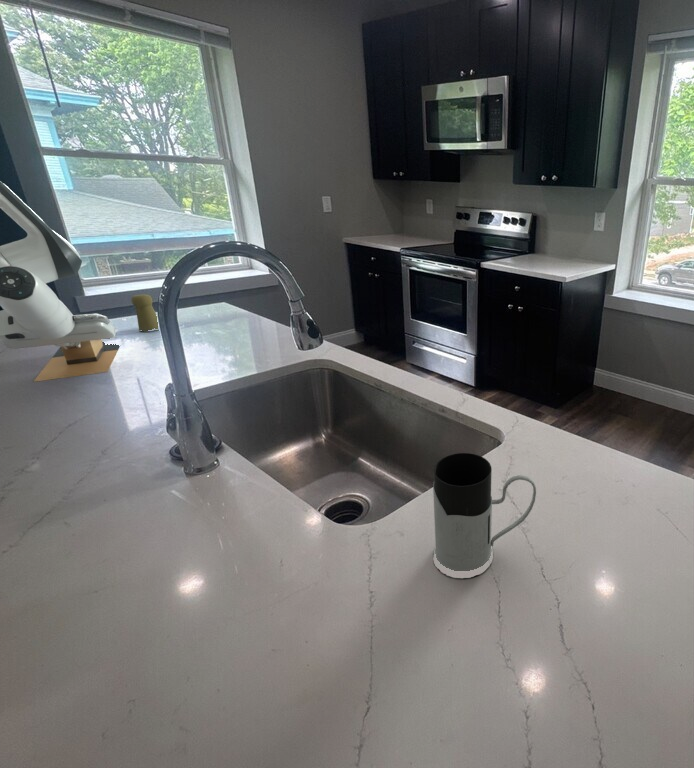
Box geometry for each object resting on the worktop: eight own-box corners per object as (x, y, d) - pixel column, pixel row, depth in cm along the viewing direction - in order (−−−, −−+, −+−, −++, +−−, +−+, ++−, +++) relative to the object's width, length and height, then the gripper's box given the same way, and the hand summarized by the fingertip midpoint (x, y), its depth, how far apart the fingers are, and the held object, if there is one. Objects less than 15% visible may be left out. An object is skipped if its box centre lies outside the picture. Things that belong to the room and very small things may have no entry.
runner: (33, 382, 111) (33, 381, 111) (63, 344, 134) (63, 343, 134) (107, 372, 118) (107, 371, 118) (124, 337, 140) (124, 336, 140)
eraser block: (67, 364, 121) (56, 337, 117) (76, 351, 128) (66, 325, 125) (97, 361, 123) (87, 334, 120) (104, 348, 131) (95, 323, 128)
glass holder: (435, 533, 71) (432, 450, 64) (528, 532, 72) (534, 450, 65) (429, 579, 63) (425, 490, 56) (534, 578, 64) (541, 489, 57)
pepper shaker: (134, 331, 145) (122, 296, 141) (150, 325, 151) (140, 291, 146) (151, 333, 145) (140, 298, 140) (167, 327, 150) (157, 293, 145)
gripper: (103, 303, 113) (122, 329, 125) (-14, 312, 104) (19, 340, 115) (106, 325, 112) (125, 350, 123) (-13, 337, 102) (20, 363, 114)
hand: (73, 346), depth 119 cm, fingers closed, pressing on eraser block
